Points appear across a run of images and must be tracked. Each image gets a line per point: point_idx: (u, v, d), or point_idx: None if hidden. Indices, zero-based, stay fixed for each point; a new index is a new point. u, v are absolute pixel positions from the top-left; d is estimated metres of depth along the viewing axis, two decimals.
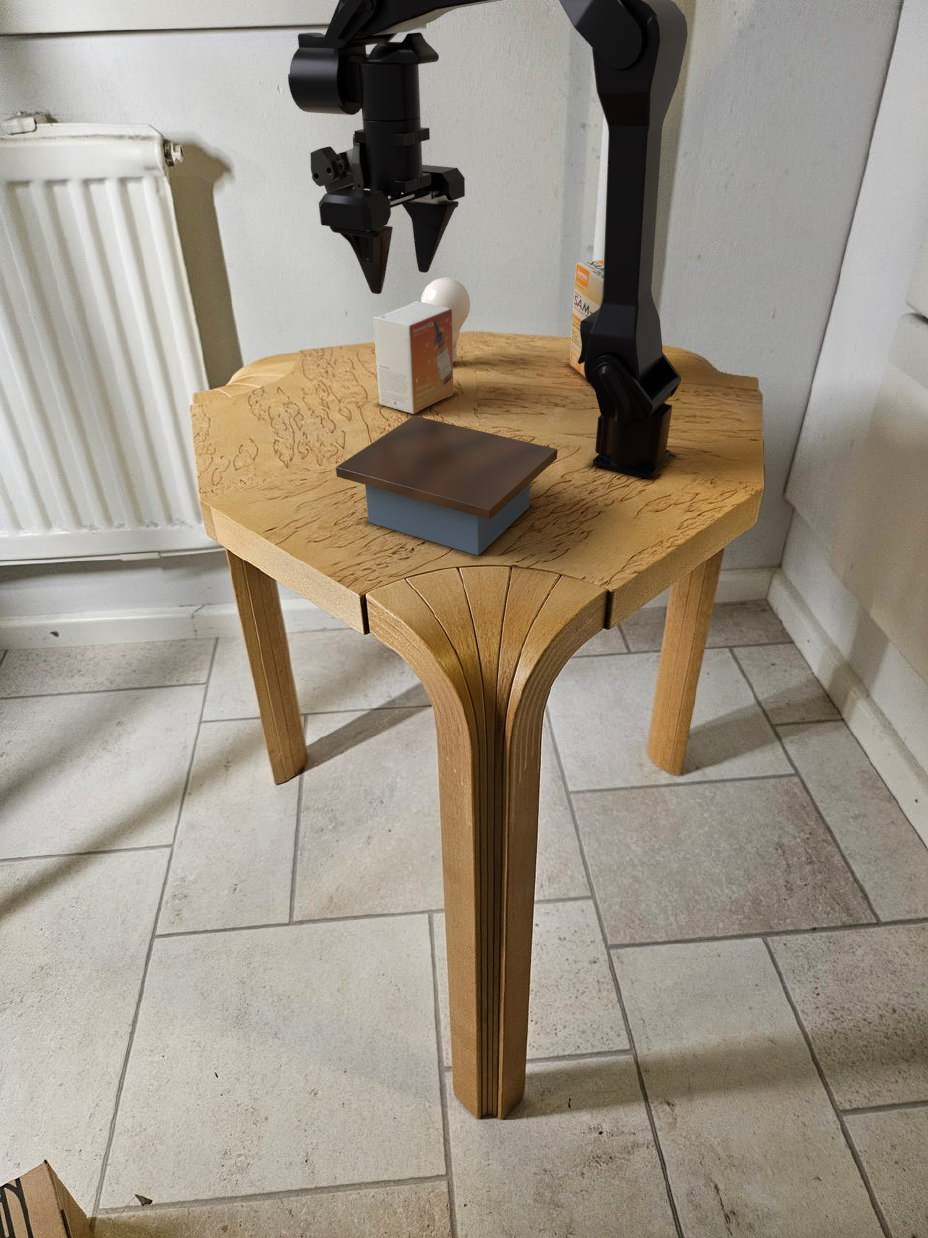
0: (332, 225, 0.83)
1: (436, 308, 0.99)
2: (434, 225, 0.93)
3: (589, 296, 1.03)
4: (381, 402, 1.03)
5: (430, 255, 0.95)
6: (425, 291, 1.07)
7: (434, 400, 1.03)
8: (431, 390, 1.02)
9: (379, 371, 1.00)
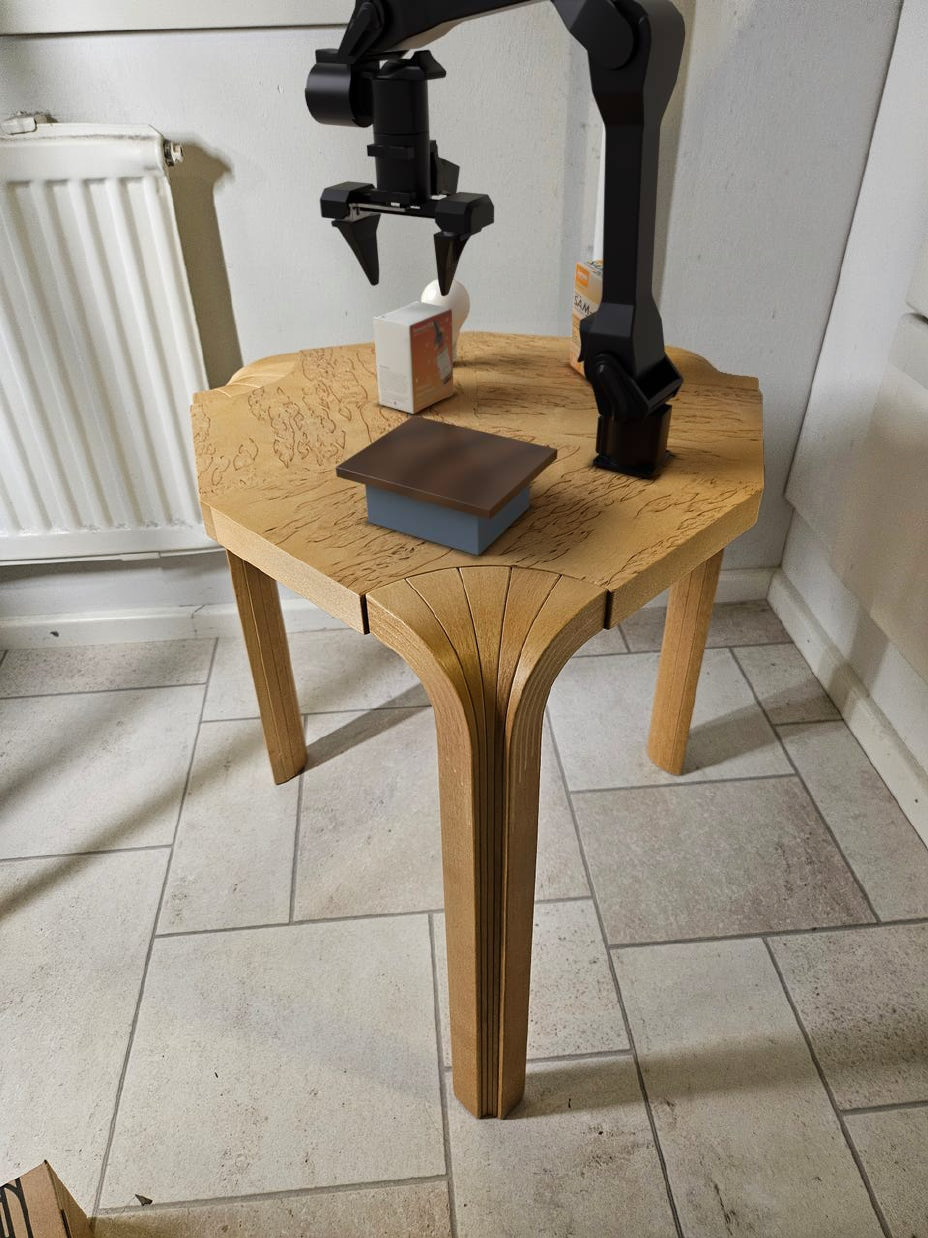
0: None
1: (436, 308, 0.99)
2: None
3: (589, 296, 1.03)
4: (381, 402, 1.03)
5: (438, 279, 0.92)
6: (425, 291, 1.07)
7: (434, 400, 1.03)
8: (431, 390, 1.02)
9: (379, 371, 1.00)
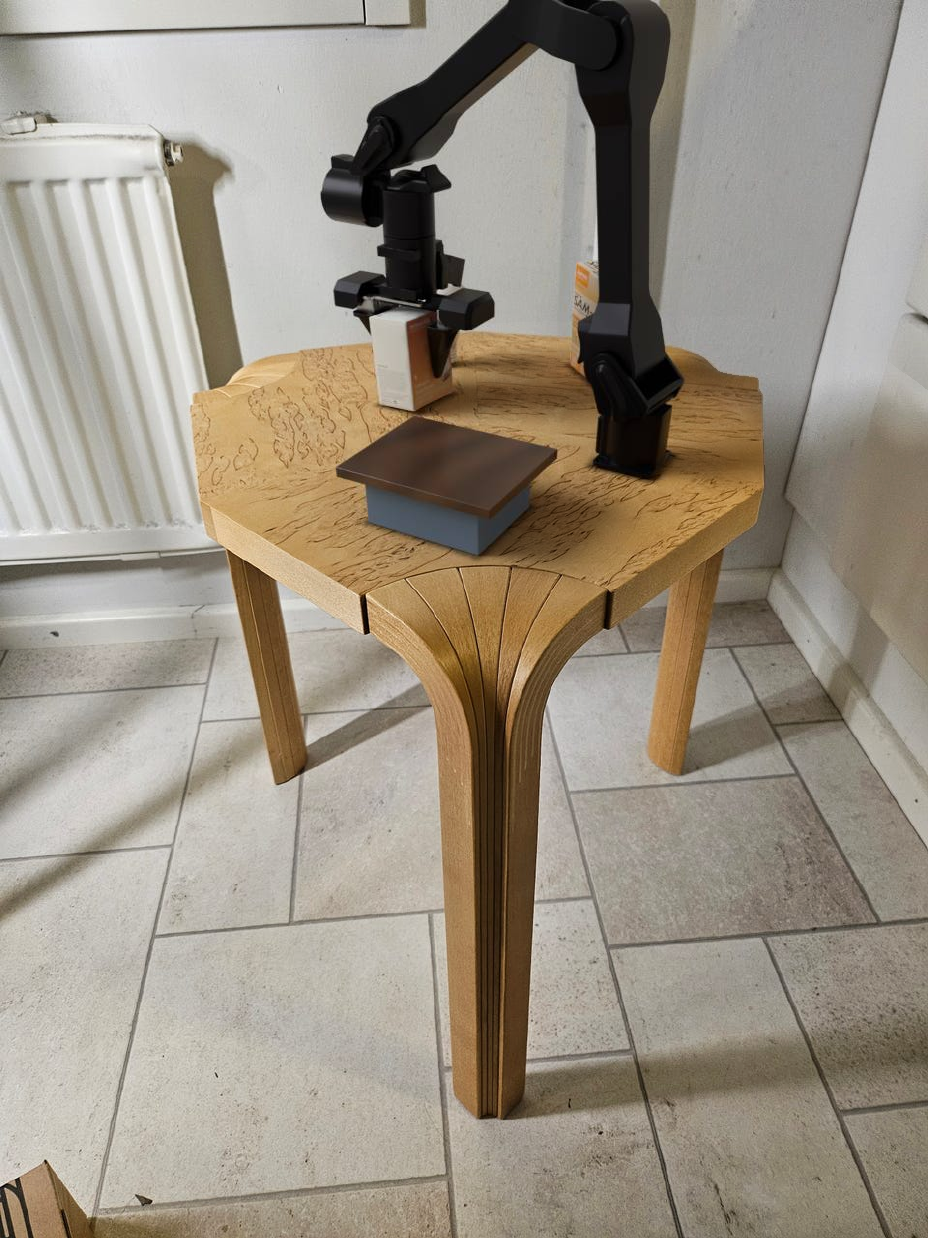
0: None
1: None
2: None
3: (589, 296, 1.03)
4: (381, 402, 1.03)
5: None
6: None
7: (434, 397, 1.03)
8: (430, 387, 1.01)
9: (378, 371, 1.01)
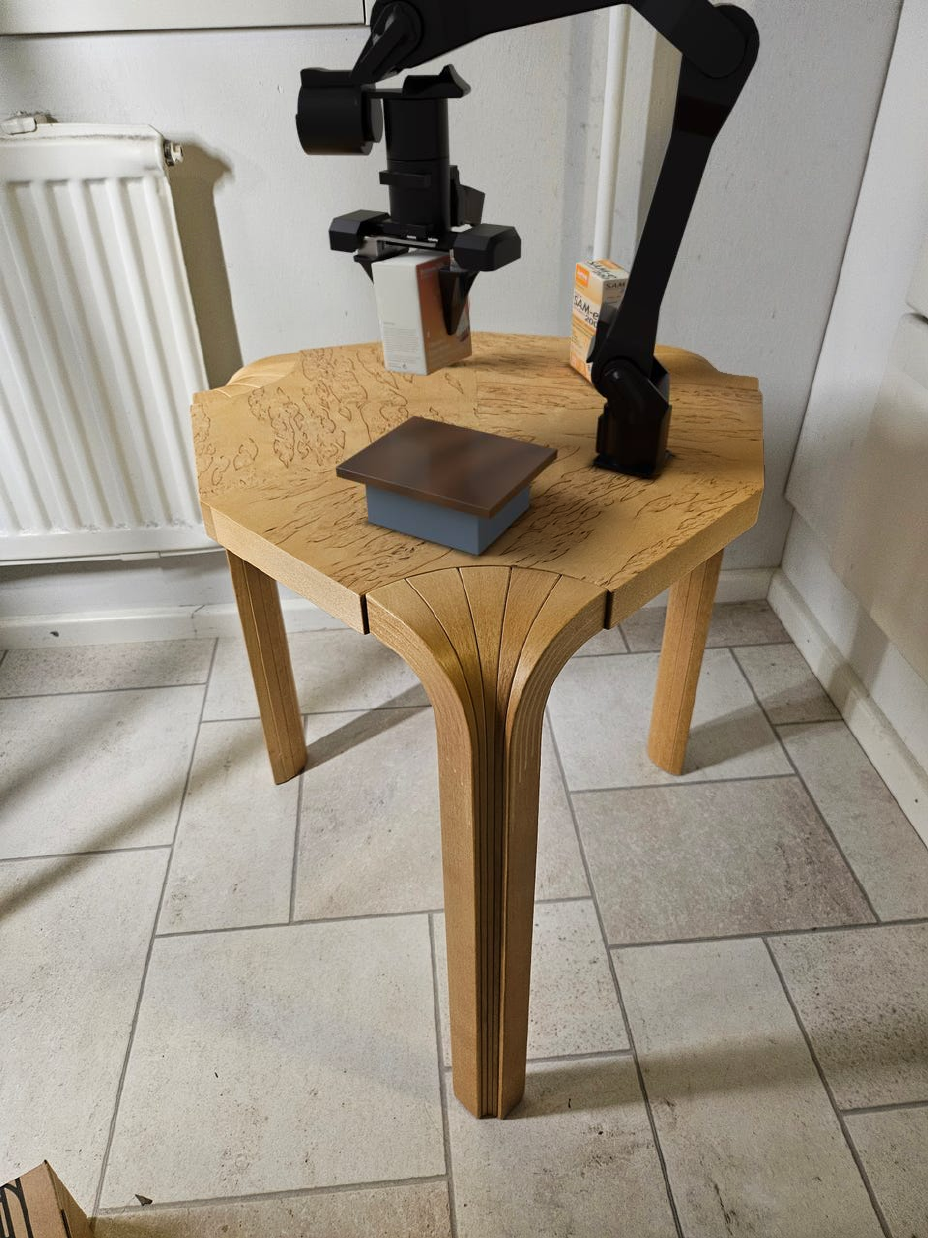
0: None
1: None
2: None
3: (589, 296, 1.03)
4: (388, 368, 0.86)
5: (444, 317, 0.83)
6: None
7: (450, 361, 0.86)
8: (446, 348, 0.85)
9: (383, 329, 0.84)
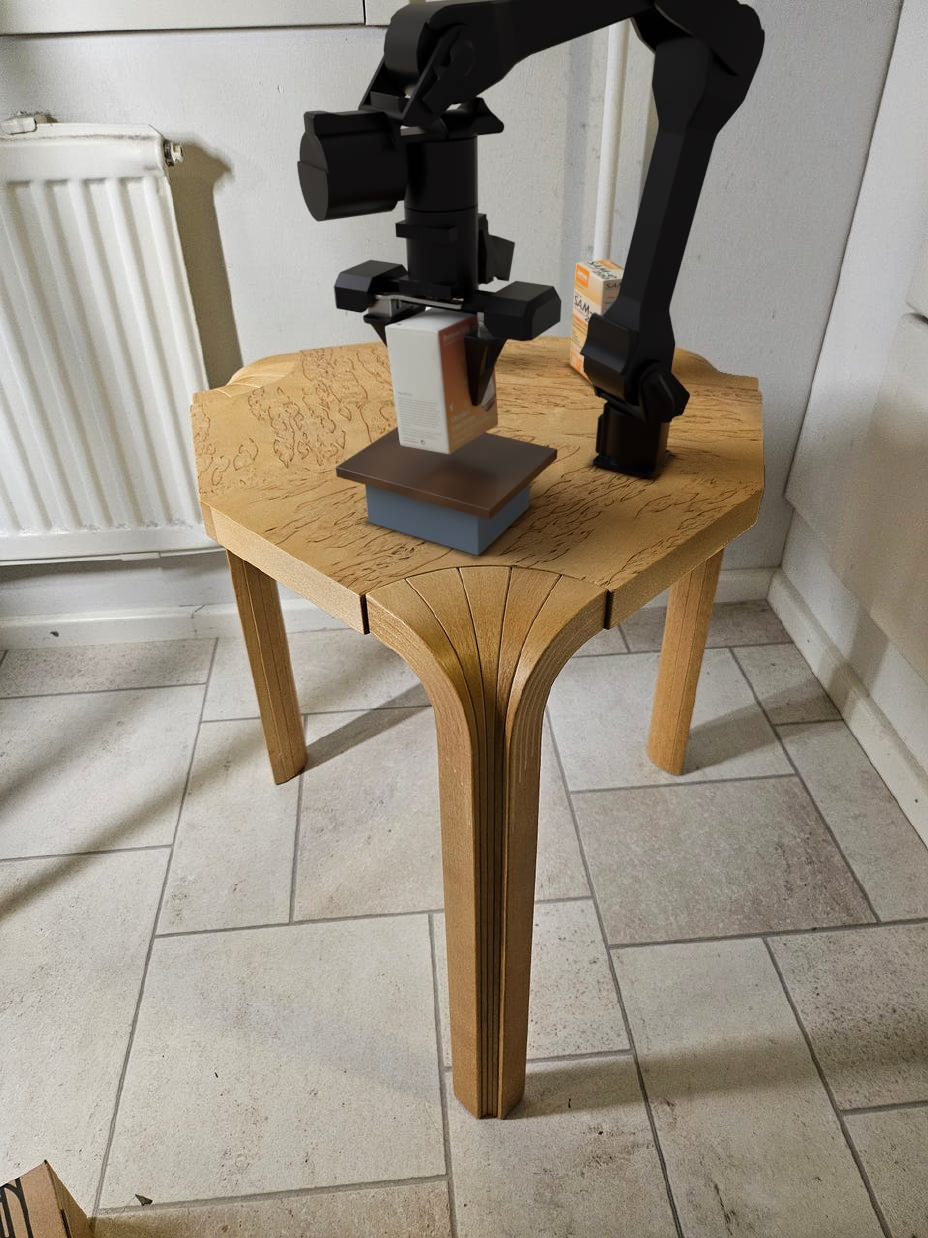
0: None
1: None
2: None
3: (589, 296, 1.03)
4: (403, 443, 0.75)
5: (469, 387, 0.72)
6: None
7: (475, 434, 0.75)
8: (470, 421, 0.74)
9: (398, 400, 0.73)
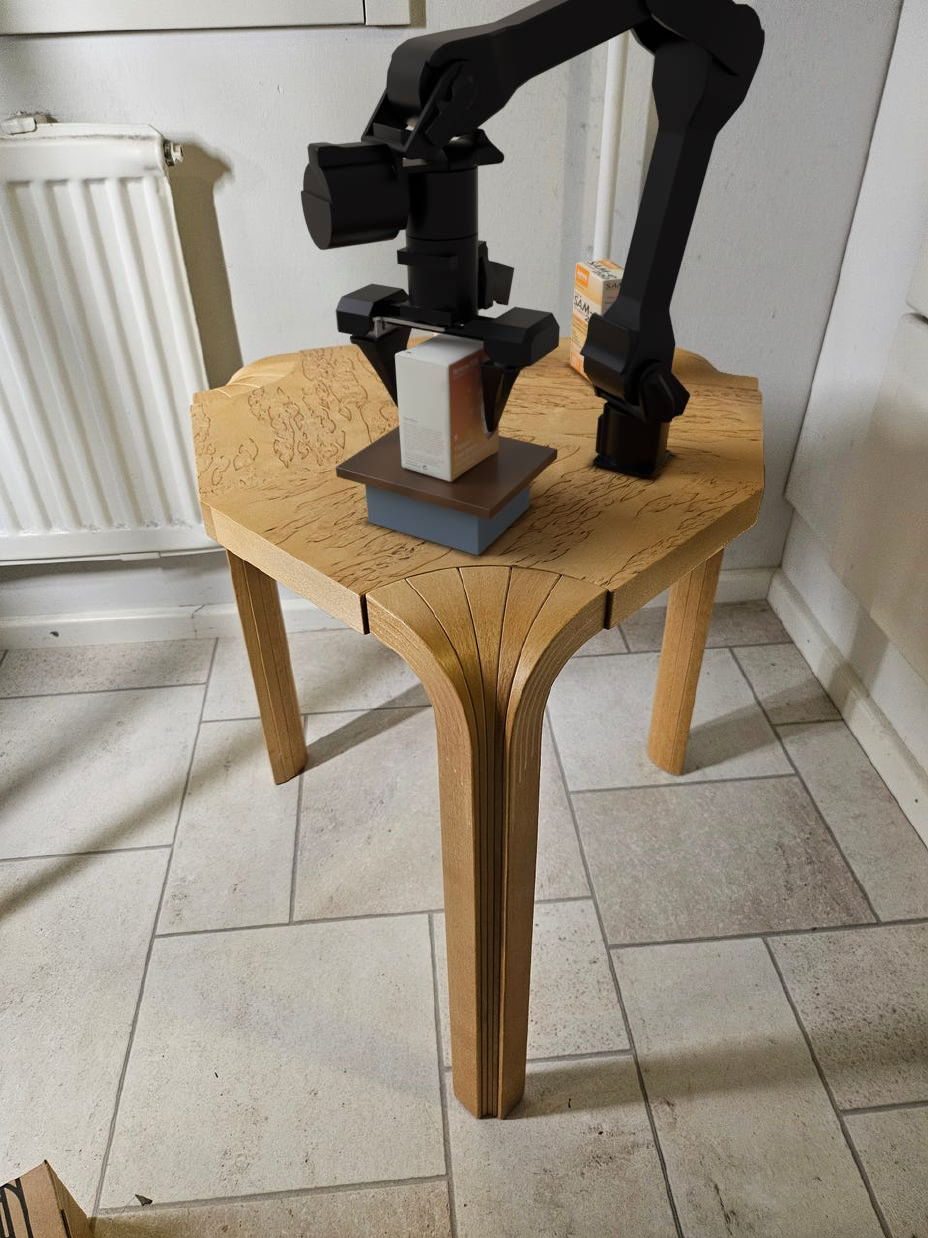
0: None
1: None
2: None
3: (589, 296, 1.03)
4: (405, 465, 0.76)
5: (484, 413, 0.72)
6: None
7: (476, 461, 0.76)
8: (472, 448, 0.75)
9: (403, 425, 0.74)
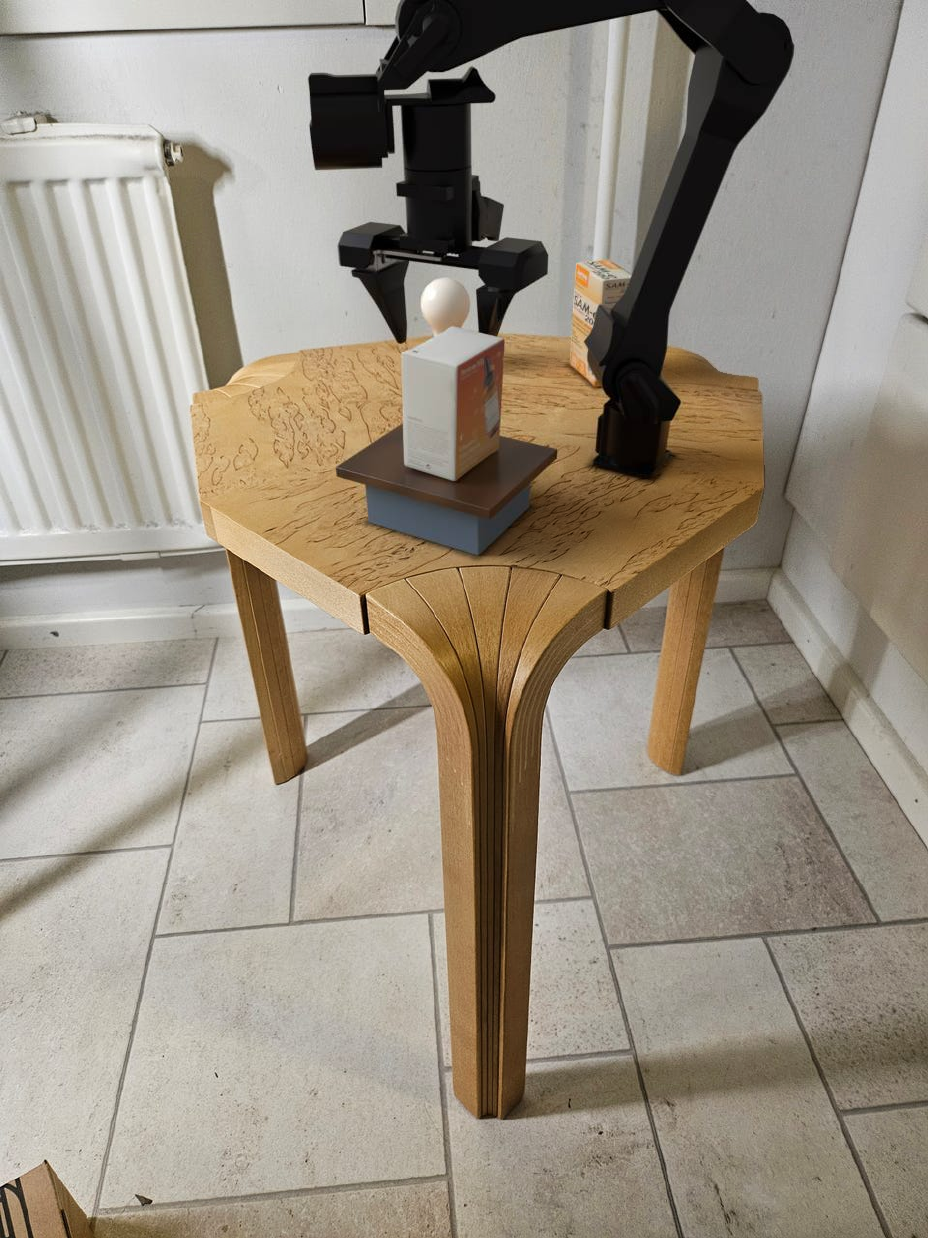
0: None
1: (484, 338, 0.73)
2: None
3: (589, 296, 1.03)
4: (407, 464, 0.76)
5: None
6: (425, 291, 1.07)
7: (478, 460, 0.77)
8: (476, 448, 0.75)
9: (407, 424, 0.74)
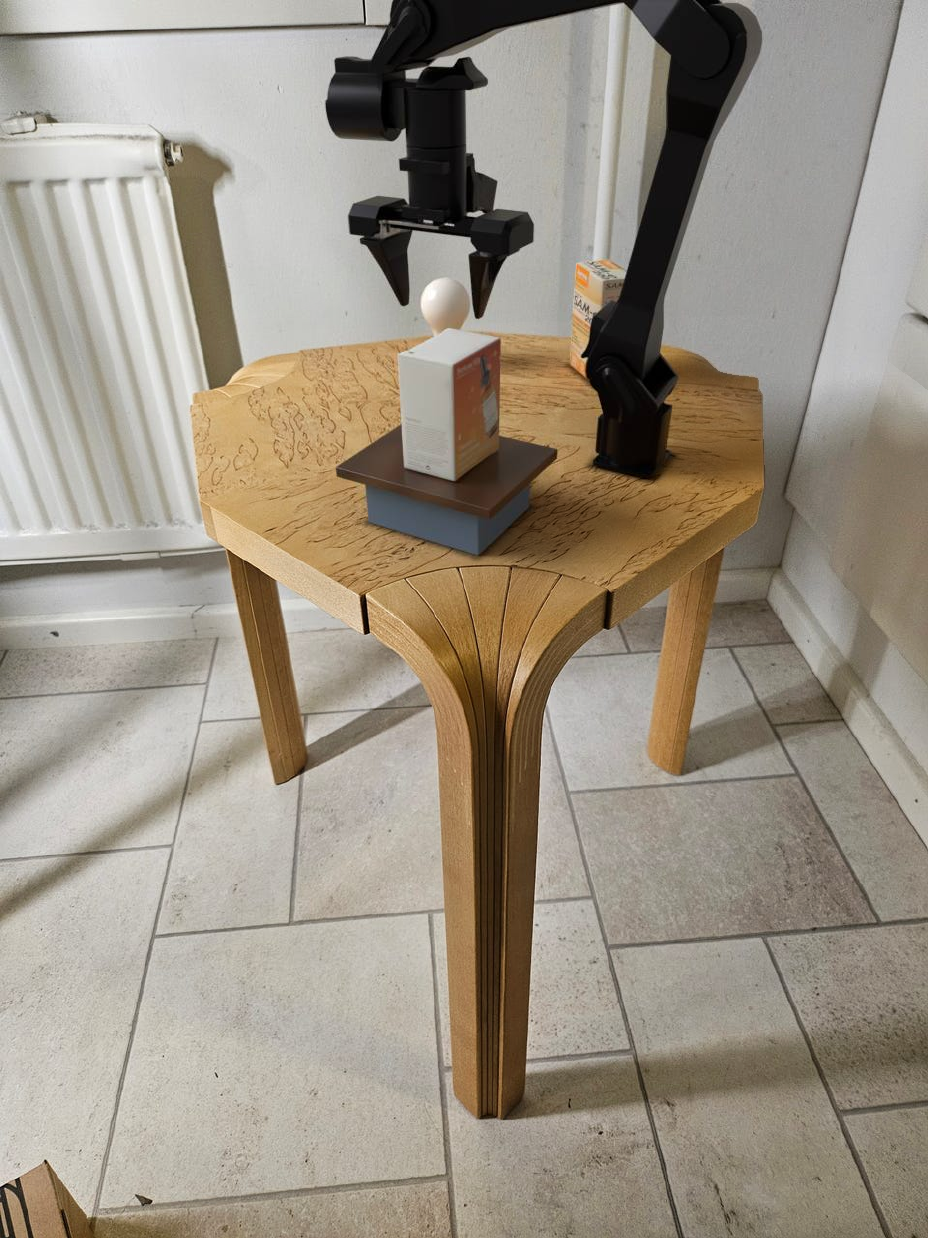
0: None
1: (480, 338, 0.73)
2: None
3: (589, 296, 1.03)
4: (407, 466, 0.76)
5: (472, 301, 0.87)
6: (425, 291, 1.07)
7: (478, 460, 0.77)
8: (475, 448, 0.75)
9: (405, 425, 0.74)
